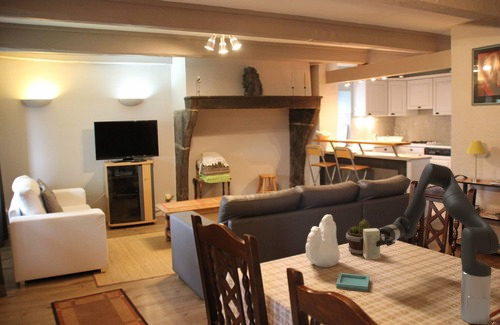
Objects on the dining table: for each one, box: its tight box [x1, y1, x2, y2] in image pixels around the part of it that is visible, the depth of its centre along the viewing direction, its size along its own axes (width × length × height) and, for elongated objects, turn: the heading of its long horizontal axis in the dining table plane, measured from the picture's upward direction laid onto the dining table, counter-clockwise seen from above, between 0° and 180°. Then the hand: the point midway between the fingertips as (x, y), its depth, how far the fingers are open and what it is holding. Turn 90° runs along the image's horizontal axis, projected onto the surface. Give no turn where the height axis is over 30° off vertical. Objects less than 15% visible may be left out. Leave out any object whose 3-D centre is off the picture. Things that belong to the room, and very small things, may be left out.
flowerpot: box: [345, 218, 371, 257], centre depth 226 cm, size 14×15×20 cm
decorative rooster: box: [305, 214, 341, 268], centre depth 207 cm, size 25×16×25 cm, turn 130°
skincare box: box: [363, 227, 381, 260], centre depth 180 cm, size 6×4×12 cm
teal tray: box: [335, 272, 370, 292], centre depth 184 cm, size 13×13×2 cm
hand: (368, 242), depth 178 cm, fingers closed on skincare box, 7 cm apart
